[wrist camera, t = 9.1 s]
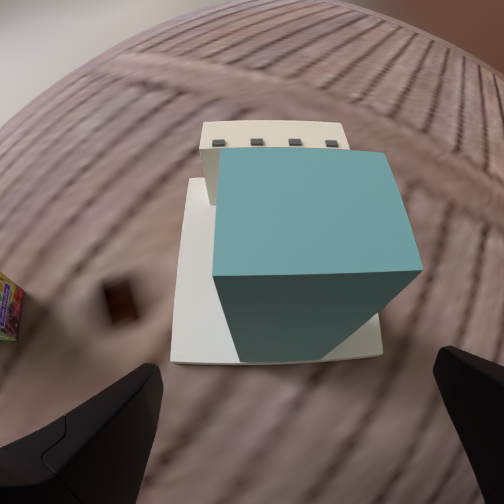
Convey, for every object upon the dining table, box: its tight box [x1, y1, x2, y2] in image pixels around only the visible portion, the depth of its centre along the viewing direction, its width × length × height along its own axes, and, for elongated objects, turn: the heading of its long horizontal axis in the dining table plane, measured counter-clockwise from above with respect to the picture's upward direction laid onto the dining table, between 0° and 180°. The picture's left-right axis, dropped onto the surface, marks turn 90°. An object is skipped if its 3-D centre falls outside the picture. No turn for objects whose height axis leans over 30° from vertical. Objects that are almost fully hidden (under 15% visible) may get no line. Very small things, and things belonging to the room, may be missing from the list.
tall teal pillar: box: [212, 148, 423, 362], centre depth 13 cm, size 4×5×13 cm
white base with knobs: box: [171, 120, 383, 365], centre depth 20 cm, size 15×14×7 cm
